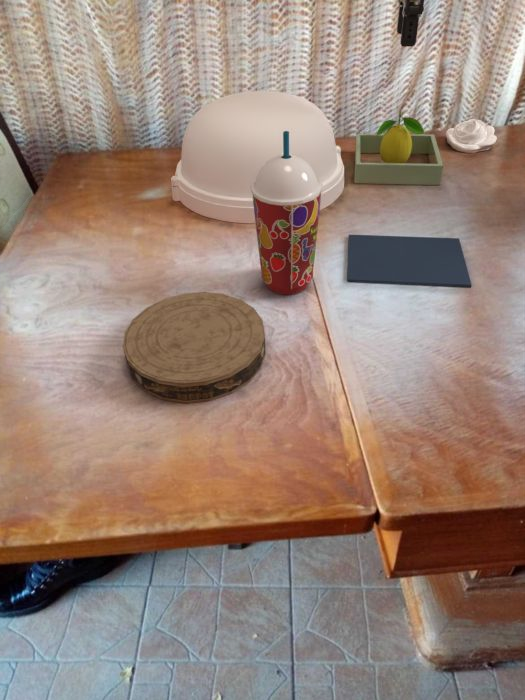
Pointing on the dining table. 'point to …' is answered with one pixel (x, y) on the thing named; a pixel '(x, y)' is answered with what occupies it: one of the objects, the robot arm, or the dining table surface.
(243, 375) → the wood slice
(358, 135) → the sage green tray
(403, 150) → the lemon
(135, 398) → the dining table surface
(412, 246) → the mat
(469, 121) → the rose
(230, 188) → the dome cover
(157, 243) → the dining table surface
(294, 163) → the smoothie
